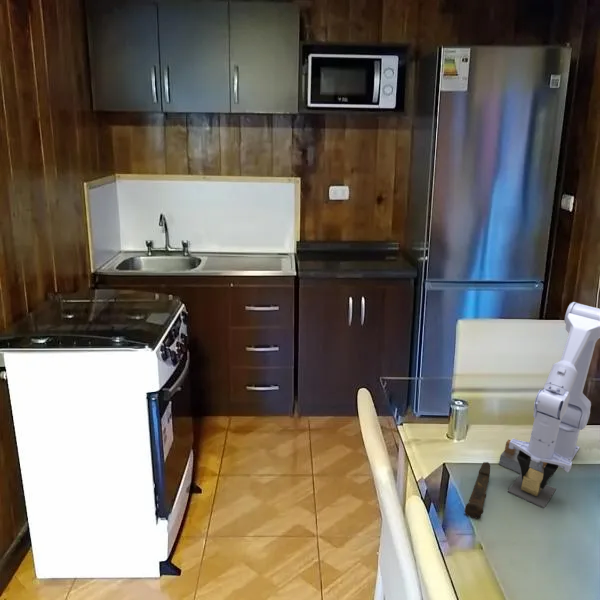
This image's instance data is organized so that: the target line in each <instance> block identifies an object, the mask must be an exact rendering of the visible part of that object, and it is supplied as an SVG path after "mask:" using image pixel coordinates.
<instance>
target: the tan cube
mask: <svg viewBox="0 0 600 600" xmlns="http://www.w3.org/2000/svg"><path fill="white" fill-rule="evenodd" d="M543 474H544V473H541V472H539V471H536V470H534V469H532V468H529V470H528V471H527V472H526V474H525V475H524V477H523V482H522V487H521V490H523V491H526V492H528V493H530V494H532V495H535V496H538V494H539V493H540V491H541V490H542V488H541V483H542V480H543Z"/></svg>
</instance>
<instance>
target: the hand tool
mask: <svg viewBox="0 0 600 600" xmlns="http://www.w3.org/2000/svg"><path fill="white" fill-rule="evenodd" d="M490 473H491V463H489V462H488V461H486V462H485V461H483V462H482V464H481V465H480V468H479V470H478V473H477V477H476V481H475V484H474V486H473V489H472V491H471V494H470V498H469V499H468V500H469V501H468V502H467V504H466V505H465V507H464V513H465V514H466V515H467V516H468V517H471V518H475V519H480V518H481V517H482V515H483V513H484V507H483V506H484V503H485V499H487V489H488V486H489V485H488V484H489V480H490V475H491V474H490Z"/></svg>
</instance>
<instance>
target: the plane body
mask: <svg viewBox="0 0 600 600" xmlns="http://www.w3.org/2000/svg"><path fill="white" fill-rule="evenodd" d="M511 440H512V439H507V441H506V442H505V448H504V450H503V452H502V453H501V454H500V456H499V461H498V465H500V466H502V467H504V468H506V469H509V470H511V471H514V472H516V473H518V474H519V475H520V474H522V473H521V468H520V464H519V462H518V460H517V455H518V454H519V450H516V449H510V448H509V444H510V441H511ZM546 464H547V463H546V462H542V461H540V462H535V461H533V460H531V461H530V465H529V468H532V469H534V470H536V471H539V472H541V473H544V467H545V466H546Z"/></svg>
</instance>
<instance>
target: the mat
mask: <svg viewBox="0 0 600 600" xmlns="http://www.w3.org/2000/svg"><path fill="white" fill-rule="evenodd" d="M522 482H523V480H522V474H520V473H519V475H518V476H517V478H516V479H515V481H513V483H512V485H511V486H510V487H509V488H508V490H507V493H509V494H511V495H514V496H515V497H518V498H520V499H522V500H525V501H527V502H529V503H531V504H533V505H536V506H537V507H540V508H542V509H545V507H546V506H547V505H548V503H549V501H550V500H551V499H552V497H553V495H554V493H555V492H556V490H557V489H556V488H555V487H553V486H551V485H549V484H546V486H545V487H544V489H542V490H541V491H540V493H539V494H538V496H535V495H532V494H530V493H528V492H526V491H523V490H521V487H522Z"/></svg>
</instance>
